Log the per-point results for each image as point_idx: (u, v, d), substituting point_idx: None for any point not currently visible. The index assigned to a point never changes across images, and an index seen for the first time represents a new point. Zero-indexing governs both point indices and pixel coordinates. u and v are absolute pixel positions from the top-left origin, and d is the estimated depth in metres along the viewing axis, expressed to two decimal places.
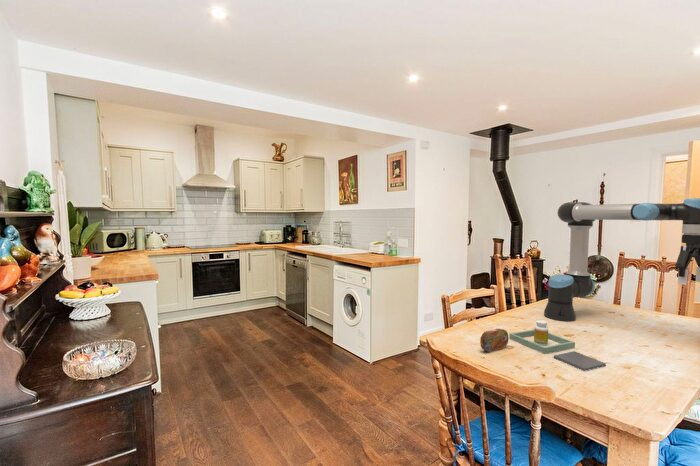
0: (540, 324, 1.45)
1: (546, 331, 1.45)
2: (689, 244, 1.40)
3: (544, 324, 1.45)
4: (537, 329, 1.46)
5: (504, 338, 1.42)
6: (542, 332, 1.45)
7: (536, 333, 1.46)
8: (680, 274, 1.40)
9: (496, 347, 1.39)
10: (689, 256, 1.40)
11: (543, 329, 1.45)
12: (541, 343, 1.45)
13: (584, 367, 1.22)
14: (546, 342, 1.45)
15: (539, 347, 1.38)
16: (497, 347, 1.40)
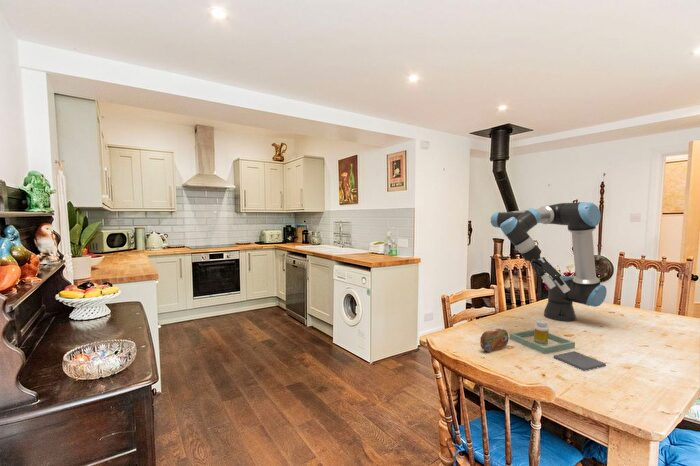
0: (540, 324, 1.45)
1: (546, 331, 1.45)
2: None
3: (544, 324, 1.45)
4: (537, 329, 1.46)
5: (504, 338, 1.42)
6: (542, 332, 1.45)
7: (536, 333, 1.46)
8: None
9: (496, 347, 1.39)
10: None
11: (543, 329, 1.45)
12: (541, 343, 1.45)
13: (584, 367, 1.22)
14: (546, 342, 1.45)
15: (539, 347, 1.38)
16: (497, 347, 1.40)
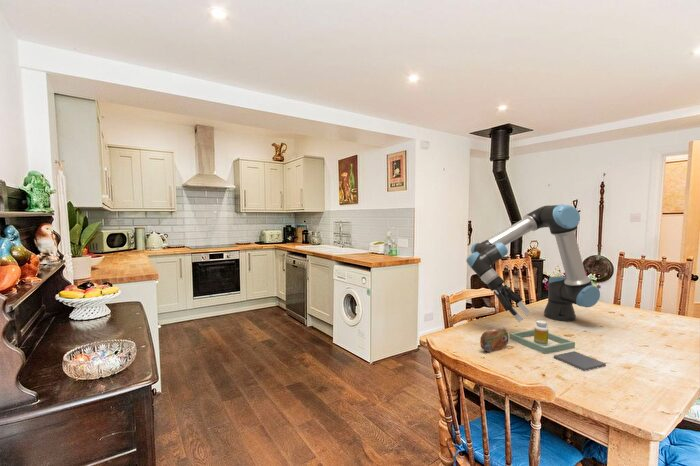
0: (540, 324, 1.45)
1: (546, 331, 1.45)
2: None
3: (544, 324, 1.45)
4: (537, 329, 1.46)
5: (504, 338, 1.42)
6: (542, 332, 1.45)
7: (536, 333, 1.46)
8: None
9: (496, 347, 1.39)
10: None
11: (543, 329, 1.45)
12: (541, 343, 1.45)
13: (584, 367, 1.22)
14: (546, 342, 1.45)
15: (539, 347, 1.38)
16: (497, 347, 1.40)
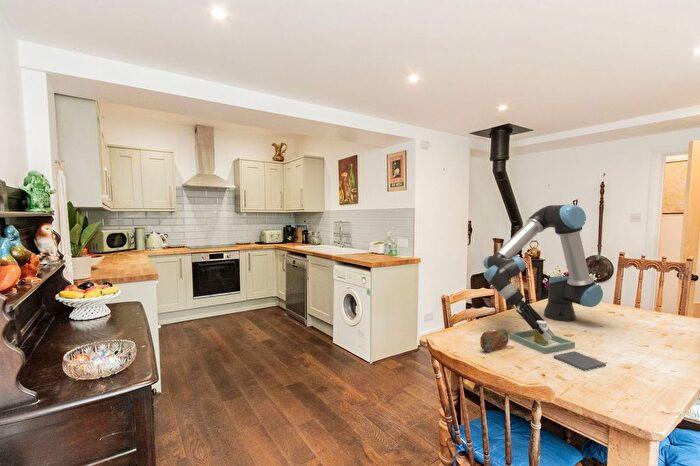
0: (540, 324, 1.45)
1: (546, 331, 1.45)
2: None
3: (544, 324, 1.45)
4: None
5: (504, 338, 1.42)
6: None
7: (536, 333, 1.46)
8: None
9: (496, 347, 1.39)
10: None
11: None
12: (541, 343, 1.45)
13: (584, 367, 1.22)
14: (546, 342, 1.45)
15: (539, 347, 1.38)
16: (497, 347, 1.40)
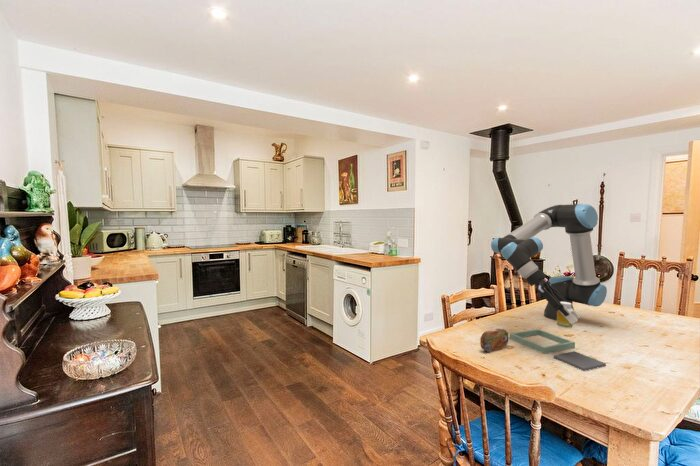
0: (564, 305, 1.31)
1: None
2: None
3: (568, 305, 1.31)
4: None
5: (504, 338, 1.42)
6: None
7: (559, 315, 1.32)
8: None
9: (496, 347, 1.39)
10: None
11: None
12: (565, 326, 1.31)
13: (584, 367, 1.22)
14: (570, 325, 1.30)
15: (539, 347, 1.38)
16: (497, 347, 1.40)
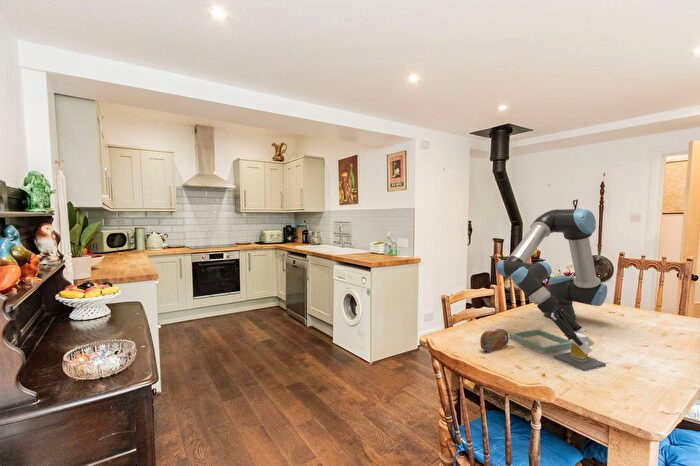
0: None
1: None
2: None
3: (584, 338, 1.26)
4: None
5: (504, 338, 1.42)
6: None
7: (574, 348, 1.27)
8: None
9: (496, 347, 1.39)
10: None
11: None
12: (580, 359, 1.26)
13: (584, 367, 1.22)
14: (586, 358, 1.26)
15: (539, 347, 1.38)
16: (497, 347, 1.40)
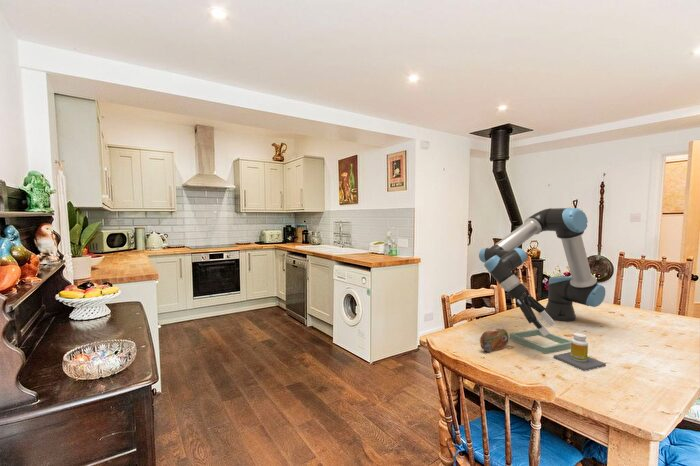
0: (578, 338, 1.27)
1: (586, 346, 1.26)
2: None
3: (583, 338, 1.26)
4: (575, 343, 1.27)
5: (504, 338, 1.42)
6: (581, 347, 1.26)
7: (574, 348, 1.28)
8: None
9: (496, 347, 1.39)
10: None
11: (582, 343, 1.26)
12: (580, 359, 1.26)
13: (584, 367, 1.22)
14: (586, 358, 1.26)
15: (539, 347, 1.38)
16: (497, 347, 1.40)
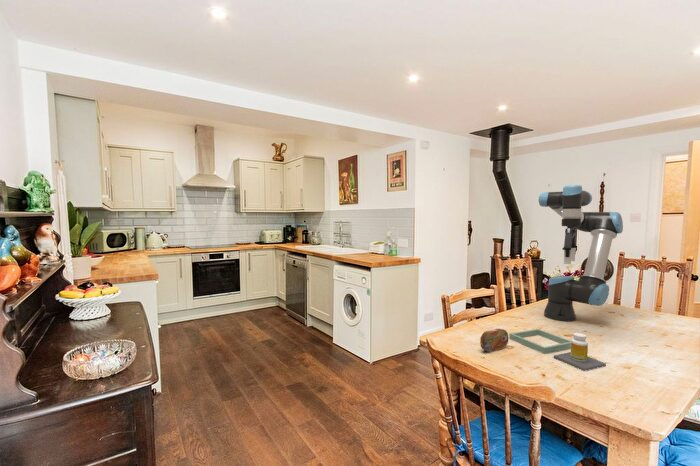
0: (578, 337, 1.27)
1: (586, 346, 1.26)
2: None
3: (583, 338, 1.26)
4: (575, 343, 1.27)
5: (504, 338, 1.42)
6: (581, 347, 1.26)
7: (574, 348, 1.28)
8: None
9: (496, 347, 1.39)
10: None
11: (582, 343, 1.26)
12: (580, 359, 1.26)
13: (584, 367, 1.22)
14: (586, 358, 1.26)
15: (539, 347, 1.38)
16: (497, 347, 1.40)
